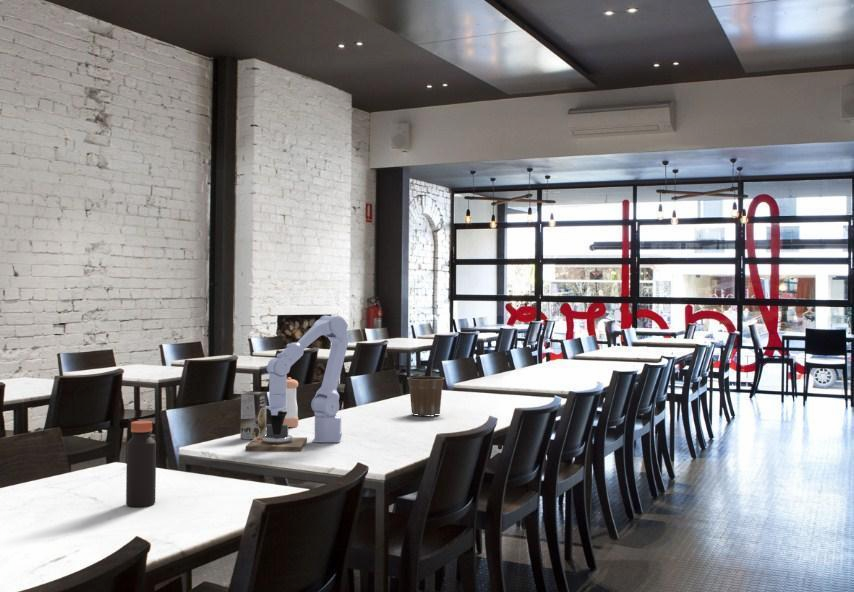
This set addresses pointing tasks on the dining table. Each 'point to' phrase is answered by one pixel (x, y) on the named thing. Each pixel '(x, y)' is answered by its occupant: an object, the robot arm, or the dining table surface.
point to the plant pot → (425, 394)
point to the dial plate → (277, 445)
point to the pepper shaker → (291, 403)
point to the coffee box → (253, 415)
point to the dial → (276, 436)
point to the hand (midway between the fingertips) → (277, 433)
